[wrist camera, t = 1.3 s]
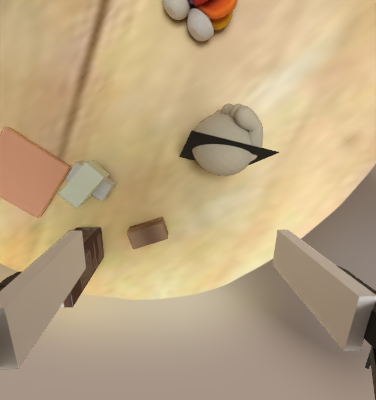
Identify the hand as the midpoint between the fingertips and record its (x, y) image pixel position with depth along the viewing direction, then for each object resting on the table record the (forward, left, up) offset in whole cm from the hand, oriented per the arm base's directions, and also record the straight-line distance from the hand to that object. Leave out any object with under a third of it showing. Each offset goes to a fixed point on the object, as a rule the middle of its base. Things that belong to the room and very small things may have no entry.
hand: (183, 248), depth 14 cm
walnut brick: (+1, -9, -23) cm, 24 cm away
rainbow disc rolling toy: (-12, +23, -23) cm, 34 cm away
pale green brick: (-11, -7, -20) cm, 23 cm away
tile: (-20, -12, -22) cm, 32 cm away
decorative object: (+1, +10, -23) cm, 25 cm away
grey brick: (-11, -7, -22) cm, 26 cm away
